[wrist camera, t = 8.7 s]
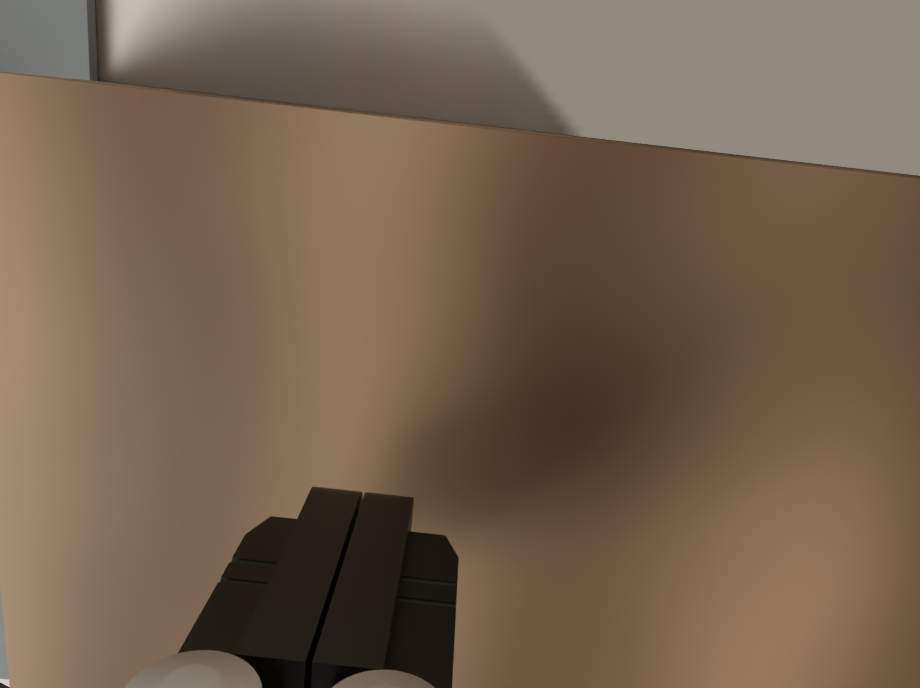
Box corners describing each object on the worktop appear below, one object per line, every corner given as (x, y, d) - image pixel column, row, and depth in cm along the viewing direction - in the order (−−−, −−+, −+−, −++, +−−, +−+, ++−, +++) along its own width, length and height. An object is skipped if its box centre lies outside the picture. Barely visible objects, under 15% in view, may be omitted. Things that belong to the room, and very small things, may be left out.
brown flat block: (1086, 195, 14) (1316, 224, 10) (904, 696, 18) (1023, 858, 14) (97, 81, 14) (-48, 67, 10) (117, 613, 17) (16, 753, 13)
